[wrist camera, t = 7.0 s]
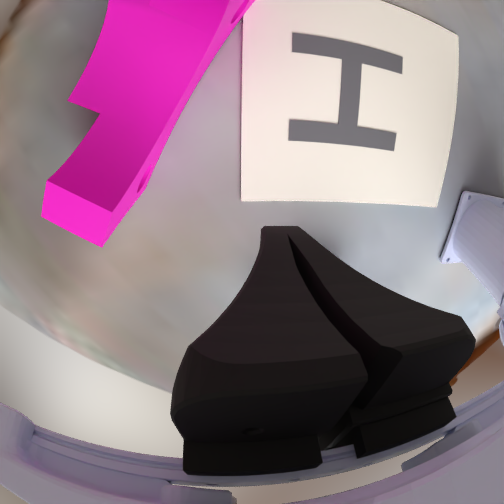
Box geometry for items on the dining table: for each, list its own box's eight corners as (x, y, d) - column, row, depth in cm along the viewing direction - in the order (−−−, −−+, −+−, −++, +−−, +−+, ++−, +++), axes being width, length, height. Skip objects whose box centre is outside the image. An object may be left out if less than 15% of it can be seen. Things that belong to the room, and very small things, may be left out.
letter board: (456, 35, 11) (458, 35, 11) (435, 206, 20) (437, 207, 20) (244, -23, 10) (244, -25, 10) (241, 200, 19) (241, 201, 19)
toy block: (171, -33, 9) (137, -85, 3) (256, -2, 11) (271, -55, 5) (73, 156, 16) (9, 198, 10) (144, 189, 18) (101, 247, 12)
